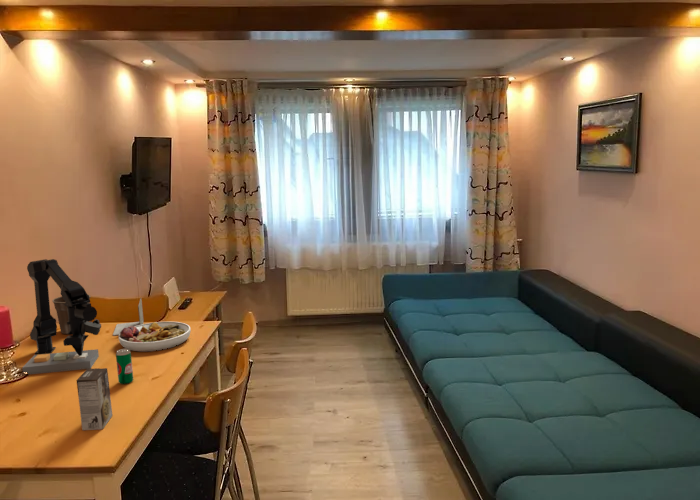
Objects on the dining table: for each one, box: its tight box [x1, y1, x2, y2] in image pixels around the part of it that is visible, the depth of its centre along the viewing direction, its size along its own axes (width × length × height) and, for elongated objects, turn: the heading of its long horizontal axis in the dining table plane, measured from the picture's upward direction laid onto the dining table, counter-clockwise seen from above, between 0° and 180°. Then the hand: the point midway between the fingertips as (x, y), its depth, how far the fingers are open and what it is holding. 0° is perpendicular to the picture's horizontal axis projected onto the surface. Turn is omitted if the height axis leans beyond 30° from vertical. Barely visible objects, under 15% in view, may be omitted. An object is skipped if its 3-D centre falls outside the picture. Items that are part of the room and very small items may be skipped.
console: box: [22, 349, 100, 375], centre depth 224 cm, size 14×24×3 cm, turn 102°
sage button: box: [54, 351, 70, 361], centre depth 224 cm, size 4×4×3 cm
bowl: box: [118, 321, 191, 352], centre depth 250 cm, size 30×30×8 cm
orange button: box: [34, 353, 51, 362], centre depth 223 cm, size 4×4×3 cm
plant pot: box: [52, 294, 91, 335], centre depth 268 cm, size 16×16×16 cm
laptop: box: [112, 297, 144, 336], centre depth 269 cm, size 18×12×13 cm
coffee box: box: [76, 367, 113, 431], centre depth 173 cm, size 9×6×16 cm
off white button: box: [73, 353, 88, 359], centre depth 226 cm, size 4×4×3 cm
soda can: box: [115, 348, 134, 385], centre depth 205 cm, size 5×5×12 cm
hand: (80, 355), depth 225 cm, fingers closed, pressing on off white button
